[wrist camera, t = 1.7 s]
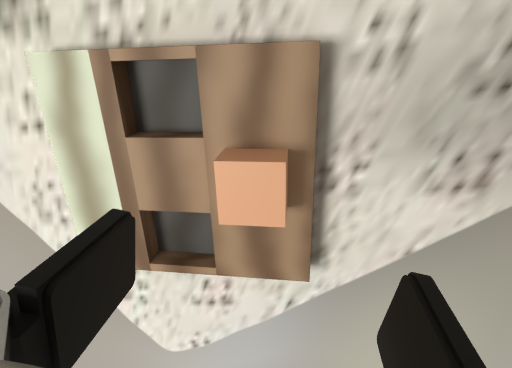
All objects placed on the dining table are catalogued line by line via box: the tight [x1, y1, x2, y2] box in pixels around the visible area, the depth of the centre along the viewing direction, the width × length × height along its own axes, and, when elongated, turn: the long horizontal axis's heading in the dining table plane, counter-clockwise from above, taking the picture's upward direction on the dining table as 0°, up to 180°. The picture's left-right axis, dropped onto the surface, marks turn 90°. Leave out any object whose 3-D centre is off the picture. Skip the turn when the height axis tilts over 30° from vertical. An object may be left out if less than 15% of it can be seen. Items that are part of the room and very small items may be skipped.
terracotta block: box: [214, 148, 288, 227], centre depth 28 cm, size 6×6×4 cm
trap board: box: [24, 41, 320, 282], centre depth 32 cm, size 27×24×3 cm
